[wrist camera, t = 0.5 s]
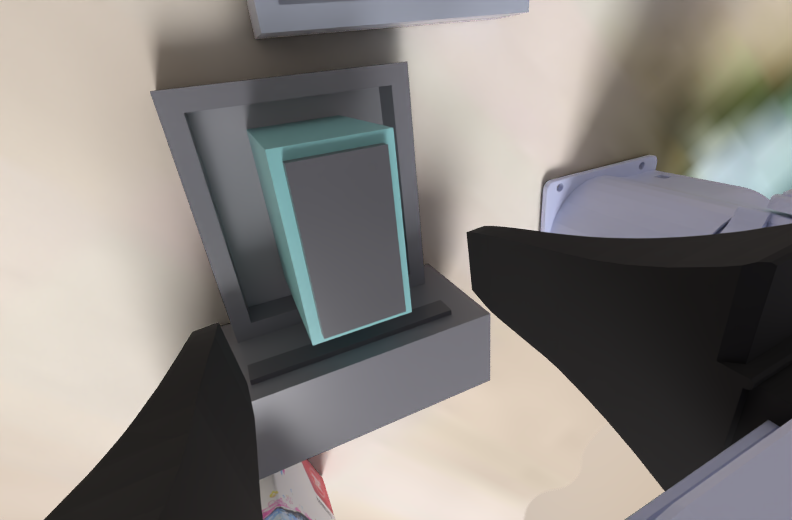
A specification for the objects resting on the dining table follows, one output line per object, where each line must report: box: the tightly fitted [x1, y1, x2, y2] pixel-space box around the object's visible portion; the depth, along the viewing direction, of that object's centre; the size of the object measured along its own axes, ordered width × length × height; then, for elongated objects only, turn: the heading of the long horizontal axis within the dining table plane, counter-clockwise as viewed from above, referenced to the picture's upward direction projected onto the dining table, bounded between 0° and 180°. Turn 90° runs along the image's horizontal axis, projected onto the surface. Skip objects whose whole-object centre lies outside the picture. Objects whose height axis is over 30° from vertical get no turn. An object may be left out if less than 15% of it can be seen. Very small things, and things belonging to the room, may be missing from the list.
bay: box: [150, 62, 490, 480], centre depth 17 cm, size 12×15×6 cm
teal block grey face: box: [246, 115, 412, 345], centre depth 16 cm, size 4×7×6 cm, turn 6°
